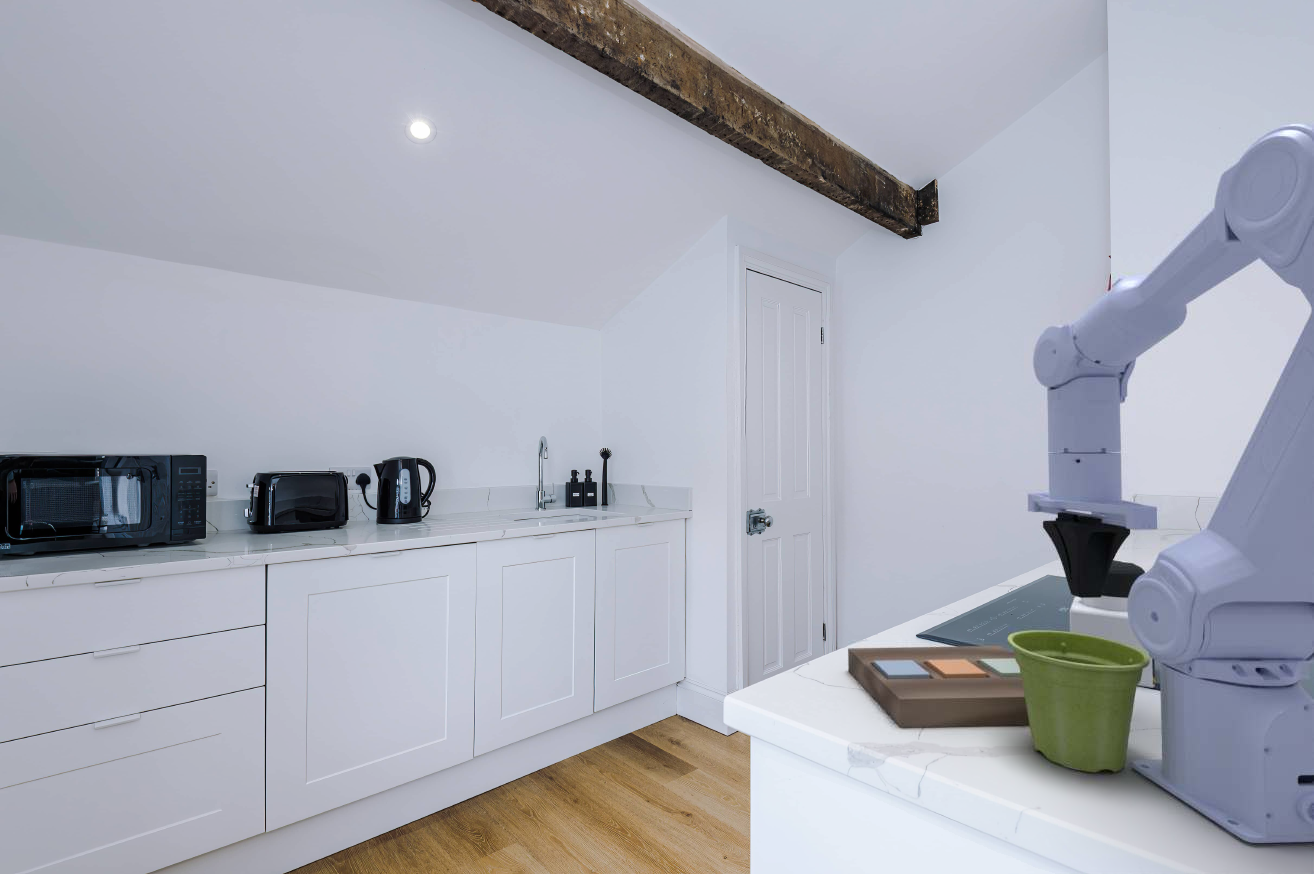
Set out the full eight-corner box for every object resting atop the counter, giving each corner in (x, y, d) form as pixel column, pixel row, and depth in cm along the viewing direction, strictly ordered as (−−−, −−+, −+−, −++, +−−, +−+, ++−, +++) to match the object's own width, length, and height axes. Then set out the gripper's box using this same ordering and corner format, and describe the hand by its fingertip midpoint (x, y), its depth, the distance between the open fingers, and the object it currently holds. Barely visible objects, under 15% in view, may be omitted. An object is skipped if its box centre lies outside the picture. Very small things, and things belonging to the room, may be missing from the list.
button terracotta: (986, 698, 60) (986, 673, 60) (945, 698, 60) (945, 673, 60) (965, 682, 64) (965, 659, 64) (927, 683, 64) (926, 659, 64)
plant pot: (1020, 719, 56) (1018, 622, 57) (1153, 750, 50) (1151, 642, 51) (998, 759, 49) (996, 649, 49) (1151, 801, 43) (1148, 675, 43)
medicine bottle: (1155, 689, 63) (1152, 570, 63) (1070, 674, 67) (1068, 563, 68) (1153, 669, 69) (1150, 559, 69) (1075, 656, 73) (1073, 553, 73)
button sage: (1043, 697, 60) (1042, 672, 60) (1002, 697, 60) (1001, 672, 60) (1018, 681, 64) (1017, 658, 64) (980, 682, 64) (979, 658, 64)
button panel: (1090, 723, 55) (1089, 695, 55) (900, 727, 55) (899, 698, 55) (1000, 668, 69) (999, 645, 69) (848, 670, 69) (848, 648, 69)
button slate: (930, 699, 60) (930, 674, 60) (889, 699, 60) (888, 674, 60) (912, 683, 64) (912, 660, 64) (874, 684, 64) (873, 660, 64)
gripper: (998, 452, 67) (1000, 579, 66) (1097, 454, 52) (1100, 617, 52) (1064, 451, 67) (1066, 578, 67) (1180, 453, 52) (1183, 616, 52)
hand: (1086, 595), depth 59 cm, fingers closed
